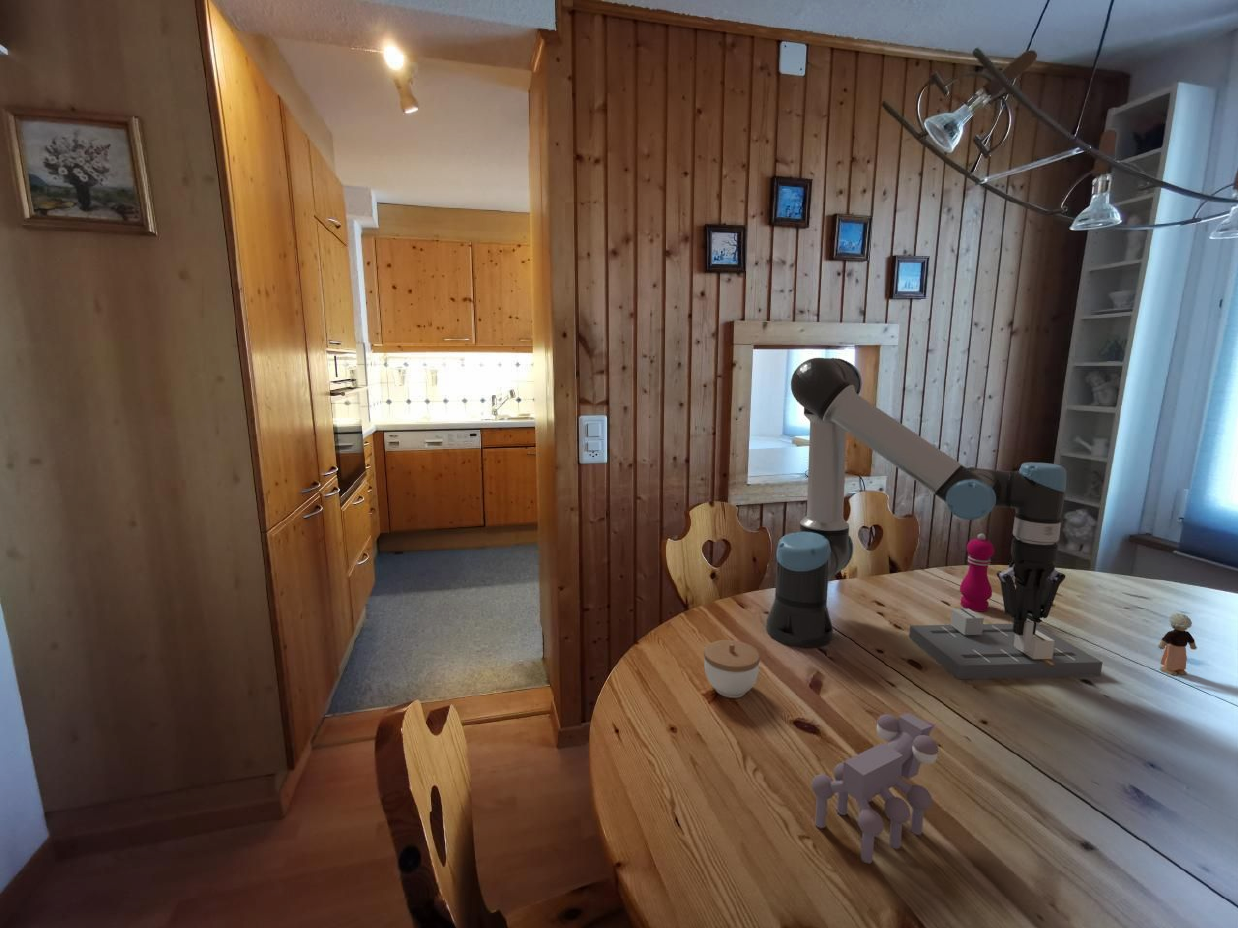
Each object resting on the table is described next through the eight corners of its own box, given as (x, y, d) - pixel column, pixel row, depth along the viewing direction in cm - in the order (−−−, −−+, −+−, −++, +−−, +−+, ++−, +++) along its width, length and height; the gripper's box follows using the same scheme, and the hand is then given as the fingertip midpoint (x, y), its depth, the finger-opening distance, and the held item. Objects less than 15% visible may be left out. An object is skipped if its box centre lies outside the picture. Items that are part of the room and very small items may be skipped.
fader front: (1033, 659, 115) (1035, 640, 114) (1015, 647, 120) (1017, 629, 119) (1052, 658, 115) (1054, 640, 114) (1033, 646, 120) (1035, 628, 119)
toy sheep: (894, 768, 88) (905, 691, 85) (962, 818, 79) (977, 733, 76) (802, 816, 78) (811, 731, 76) (867, 879, 69) (881, 785, 67)
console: (959, 680, 113) (961, 666, 113) (909, 637, 131) (910, 625, 131) (1102, 676, 114) (1104, 662, 114) (1032, 634, 132) (1034, 622, 132)
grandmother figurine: (1173, 664, 119) (1183, 608, 117) (1195, 673, 115) (1206, 616, 113) (1146, 669, 117) (1156, 612, 115) (1168, 678, 114) (1178, 620, 112)
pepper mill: (962, 610, 146) (970, 536, 143) (954, 599, 153) (962, 528, 150) (994, 613, 144) (1002, 538, 141) (985, 602, 151) (993, 531, 148)
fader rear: (964, 635, 125) (966, 617, 125) (950, 625, 130) (952, 608, 129) (981, 634, 125) (983, 617, 125) (967, 624, 130) (969, 607, 130)
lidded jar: (712, 669, 117) (713, 627, 116) (763, 682, 113) (765, 638, 111) (695, 696, 108) (696, 650, 106) (751, 710, 103) (753, 663, 102)
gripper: (1017, 545, 109) (1004, 658, 113) (1082, 544, 110) (1066, 657, 113) (990, 534, 116) (979, 640, 120) (1051, 533, 117) (1038, 639, 121)
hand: (1021, 648), depth 117 cm, fingers closed
